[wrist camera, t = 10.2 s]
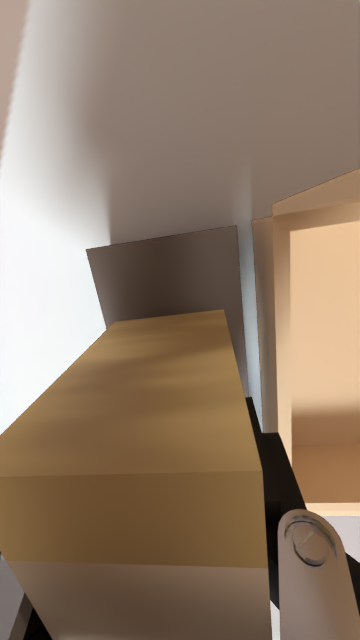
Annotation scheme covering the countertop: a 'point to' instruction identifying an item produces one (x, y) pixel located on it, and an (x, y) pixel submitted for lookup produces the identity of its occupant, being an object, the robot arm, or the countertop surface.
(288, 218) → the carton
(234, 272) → the block
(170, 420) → the block
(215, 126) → the countertop surface
